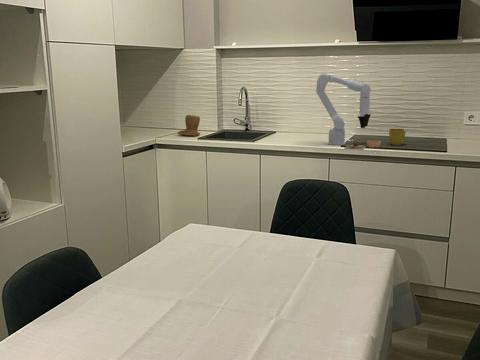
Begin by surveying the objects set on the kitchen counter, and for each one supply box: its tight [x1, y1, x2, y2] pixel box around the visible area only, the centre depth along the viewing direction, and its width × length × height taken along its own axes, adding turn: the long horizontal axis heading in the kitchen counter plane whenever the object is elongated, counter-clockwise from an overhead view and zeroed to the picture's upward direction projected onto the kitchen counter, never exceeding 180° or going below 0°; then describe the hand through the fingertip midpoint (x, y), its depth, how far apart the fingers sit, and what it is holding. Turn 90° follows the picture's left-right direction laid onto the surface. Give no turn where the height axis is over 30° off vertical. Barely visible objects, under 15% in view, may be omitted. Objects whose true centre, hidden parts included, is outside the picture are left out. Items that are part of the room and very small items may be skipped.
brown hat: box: [176, 114, 201, 137], centre depth 344 cm, size 15×12×15 cm
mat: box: [343, 144, 368, 151], centre depth 284 cm, size 11×11×1 cm
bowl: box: [366, 139, 382, 148], centre depth 286 cm, size 8×8×3 cm
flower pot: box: [388, 128, 407, 146], centre depth 291 cm, size 9×9×9 cm
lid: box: [347, 139, 364, 148], centre depth 283 cm, size 9×9×4 cm
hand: (364, 127), depth 293 cm, fingers open, 7 cm apart
